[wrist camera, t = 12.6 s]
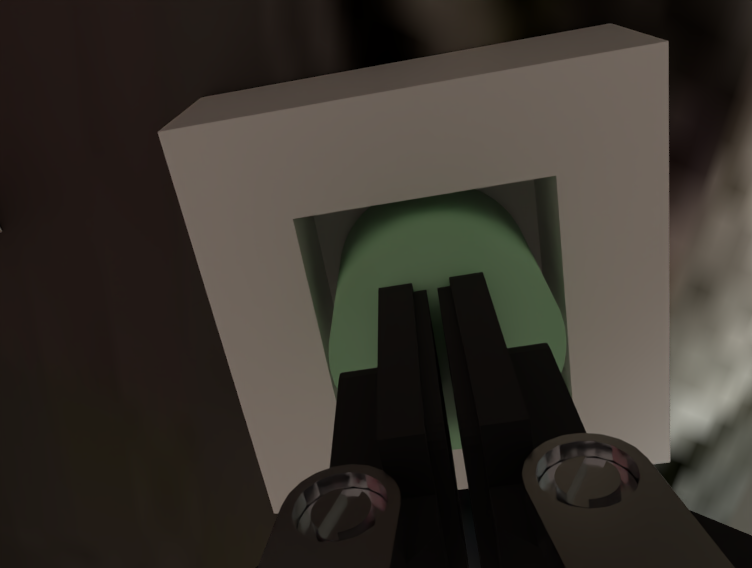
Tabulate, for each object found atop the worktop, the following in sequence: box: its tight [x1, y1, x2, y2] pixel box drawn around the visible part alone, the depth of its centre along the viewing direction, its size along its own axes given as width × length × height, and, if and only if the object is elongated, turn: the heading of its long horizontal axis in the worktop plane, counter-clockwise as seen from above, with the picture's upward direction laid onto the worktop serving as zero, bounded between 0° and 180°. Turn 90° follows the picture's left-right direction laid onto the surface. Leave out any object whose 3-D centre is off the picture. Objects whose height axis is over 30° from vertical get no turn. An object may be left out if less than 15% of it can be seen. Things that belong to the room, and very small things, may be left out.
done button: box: [329, 189, 566, 450], centre depth 13 cm, size 4×4×3 cm
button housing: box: [158, 23, 670, 514], centre depth 14 cm, size 8×8×3 cm
